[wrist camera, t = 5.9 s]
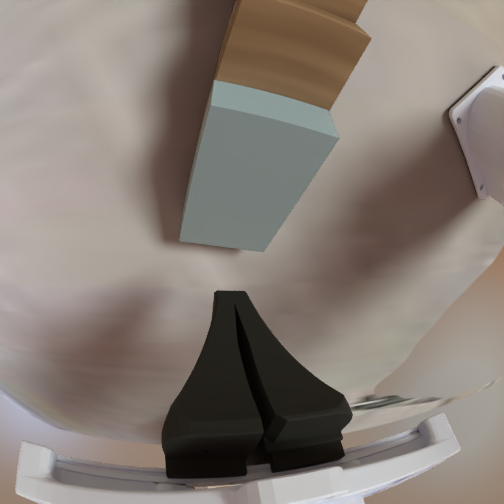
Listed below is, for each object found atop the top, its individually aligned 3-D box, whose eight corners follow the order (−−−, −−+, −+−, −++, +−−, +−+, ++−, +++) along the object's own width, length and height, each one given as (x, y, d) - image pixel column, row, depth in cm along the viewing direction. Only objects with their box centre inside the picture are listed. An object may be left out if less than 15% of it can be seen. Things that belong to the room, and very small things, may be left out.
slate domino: (263, 252, 18) (339, 138, 11) (178, 241, 17) (210, 105, 10) (261, 224, 19) (328, 110, 12) (182, 212, 18) (214, 79, 11)
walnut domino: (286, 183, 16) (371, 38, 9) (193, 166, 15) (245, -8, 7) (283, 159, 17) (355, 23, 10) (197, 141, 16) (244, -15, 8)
